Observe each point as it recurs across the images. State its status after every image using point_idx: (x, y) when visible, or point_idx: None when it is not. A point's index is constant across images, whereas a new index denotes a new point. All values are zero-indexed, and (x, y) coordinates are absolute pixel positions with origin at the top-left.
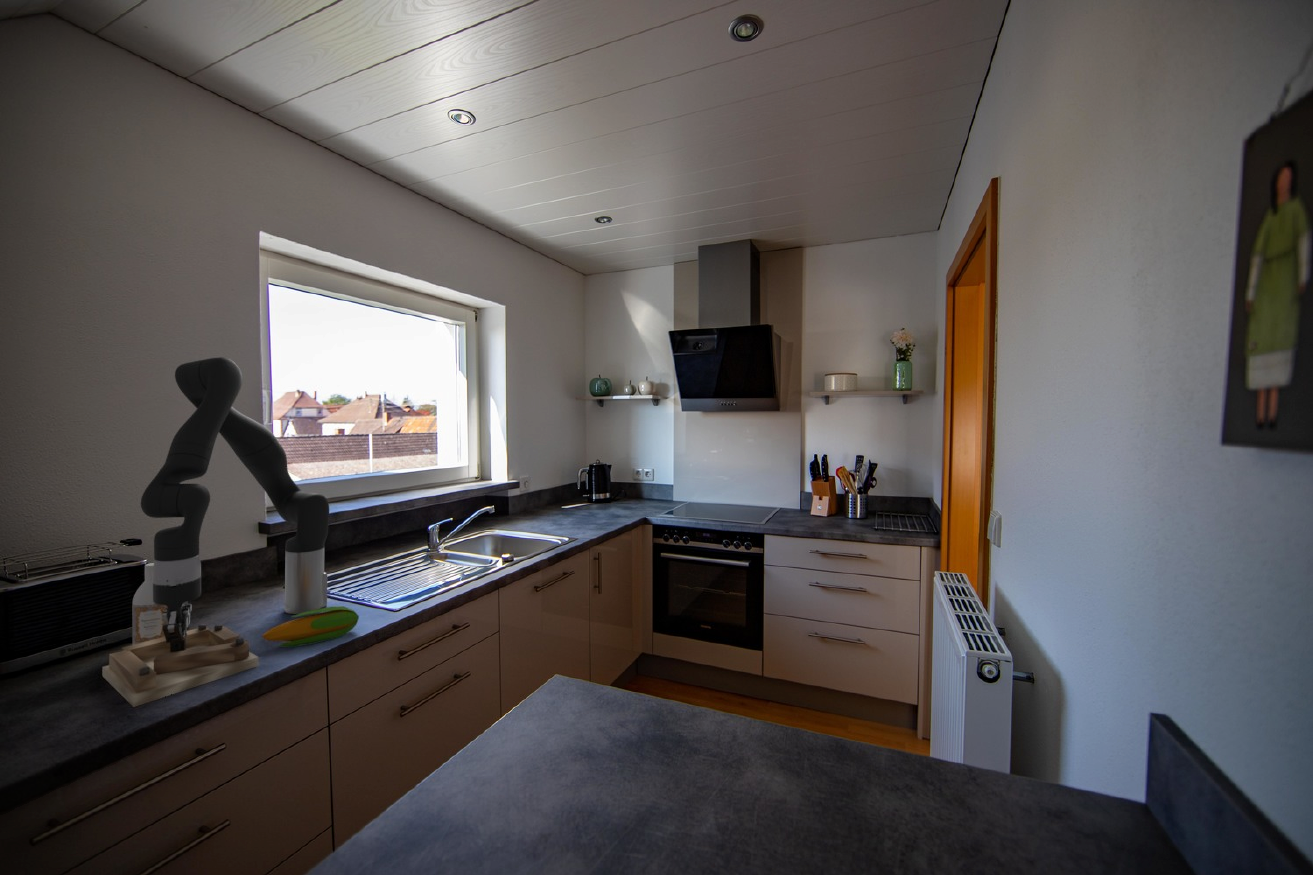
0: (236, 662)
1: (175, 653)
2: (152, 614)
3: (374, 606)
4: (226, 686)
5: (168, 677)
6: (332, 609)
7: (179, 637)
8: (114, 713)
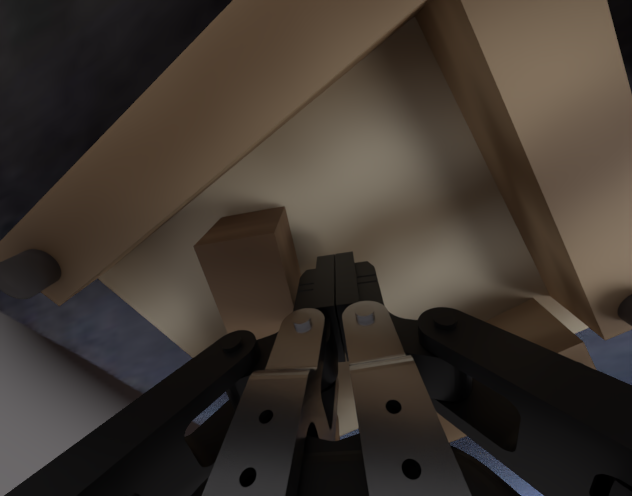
0: None
1: (268, 309)
2: None
3: None
4: None
5: (195, 275)
6: None
7: (207, 425)
8: (24, 170)
